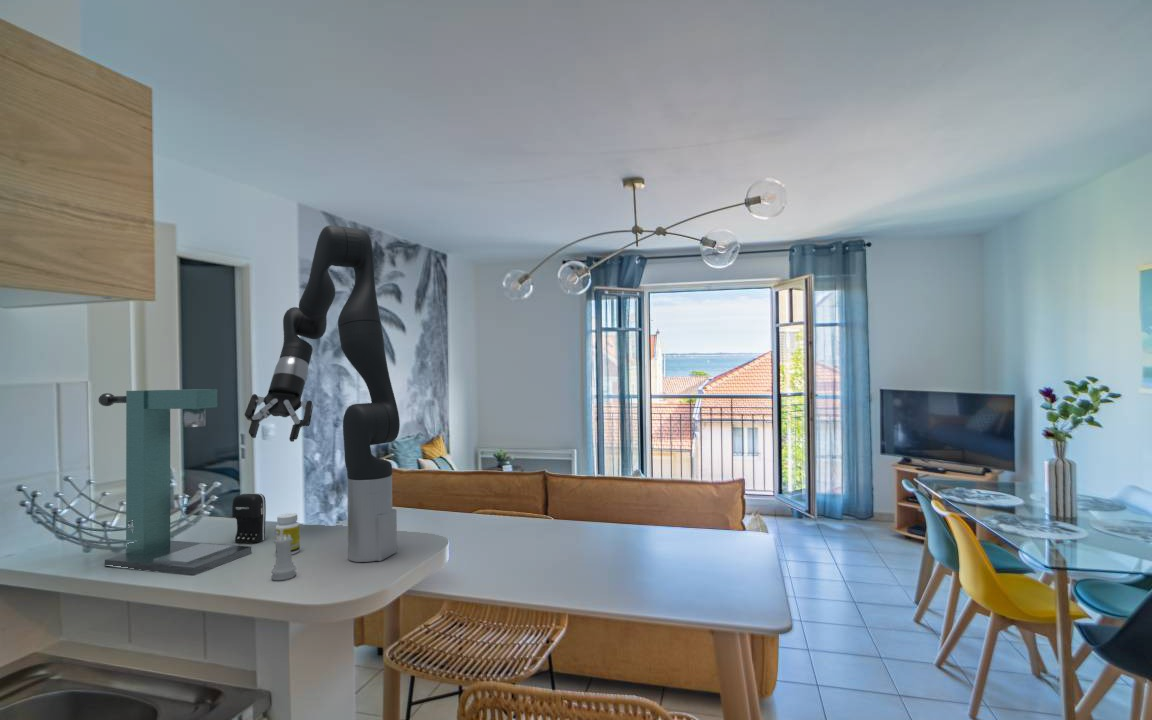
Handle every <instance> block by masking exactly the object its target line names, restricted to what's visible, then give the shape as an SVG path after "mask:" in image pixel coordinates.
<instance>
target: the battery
mask: <svg viewBox="0 0 1152 720" xmlns="http://www.w3.org/2000/svg"><path fill="white" fill-rule="evenodd" d="M266 504H267V503H266V497H265V495H264V494H262V493H255V492H251V493H250V492H249V493H248V492H244V493H241V494H239V495H236V496H235V497H234V498H233V500H232V505H231V506H232V507H231V517H232V518H235V519H236V528H237V529H236V534H235V538H234V542H235V543H241V544H255V543H260V542H264V540H265V539H266V518H267V517H266V515H267V514H266V513H267V512H266V511H267V509H266V508H267V506H266Z"/></svg>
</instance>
